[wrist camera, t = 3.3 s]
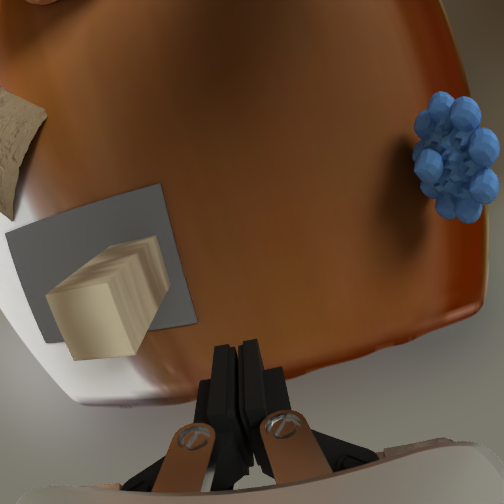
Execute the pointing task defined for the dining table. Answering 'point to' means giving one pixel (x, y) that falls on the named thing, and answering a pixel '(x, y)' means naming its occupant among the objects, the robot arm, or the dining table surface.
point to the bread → (41, 1)
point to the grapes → (455, 157)
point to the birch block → (111, 300)
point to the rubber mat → (97, 252)
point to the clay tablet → (15, 142)
